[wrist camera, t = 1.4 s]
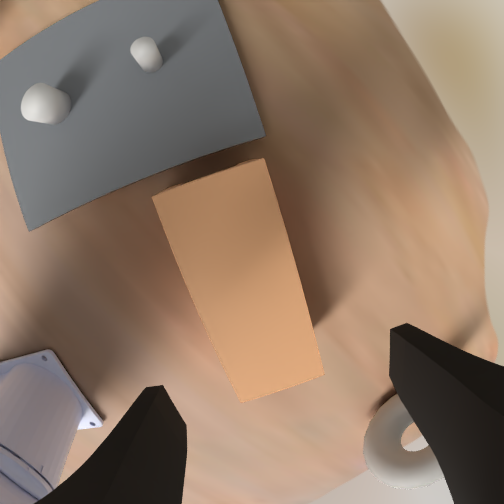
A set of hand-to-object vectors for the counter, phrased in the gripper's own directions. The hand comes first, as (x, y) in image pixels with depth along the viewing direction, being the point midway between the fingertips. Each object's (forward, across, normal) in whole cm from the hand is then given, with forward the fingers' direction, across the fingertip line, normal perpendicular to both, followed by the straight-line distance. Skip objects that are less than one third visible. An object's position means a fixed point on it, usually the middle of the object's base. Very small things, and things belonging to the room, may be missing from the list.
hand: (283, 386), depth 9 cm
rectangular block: (+10, +1, 0) cm, 10 cm away
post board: (+10, +6, -13) cm, 17 cm away
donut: (+11, -9, +16) cm, 22 cm away
